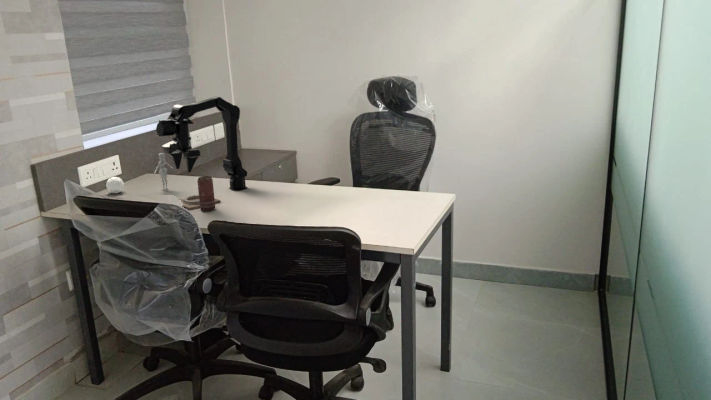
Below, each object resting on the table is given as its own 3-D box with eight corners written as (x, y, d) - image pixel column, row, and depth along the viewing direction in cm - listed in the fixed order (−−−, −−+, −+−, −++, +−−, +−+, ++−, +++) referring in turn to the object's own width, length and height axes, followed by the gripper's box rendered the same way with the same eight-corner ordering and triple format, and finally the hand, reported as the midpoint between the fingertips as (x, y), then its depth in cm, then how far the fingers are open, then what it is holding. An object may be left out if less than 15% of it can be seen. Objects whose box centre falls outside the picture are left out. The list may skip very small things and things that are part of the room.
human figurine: (172, 186, 273) (167, 150, 268) (177, 187, 272) (173, 150, 266) (153, 193, 263) (148, 155, 258) (159, 193, 261) (154, 156, 256)
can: (212, 212, 233) (208, 179, 229) (198, 211, 234) (194, 179, 230) (218, 208, 238) (215, 176, 234) (204, 207, 240) (201, 175, 236)
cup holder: (203, 195, 257) (202, 191, 256) (220, 202, 247) (220, 197, 246) (172, 202, 247) (172, 198, 247) (189, 209, 237) (188, 205, 236)
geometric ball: (119, 199, 265) (116, 188, 258) (103, 192, 265) (101, 182, 259) (128, 187, 269) (126, 177, 263) (113, 181, 270) (111, 171, 264)
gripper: (153, 133, 240) (155, 169, 244) (176, 138, 228) (178, 176, 232) (176, 132, 248) (178, 166, 252) (200, 136, 236) (201, 173, 240)
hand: (183, 170), depth 243 cm, fingers open, 9 cm apart
